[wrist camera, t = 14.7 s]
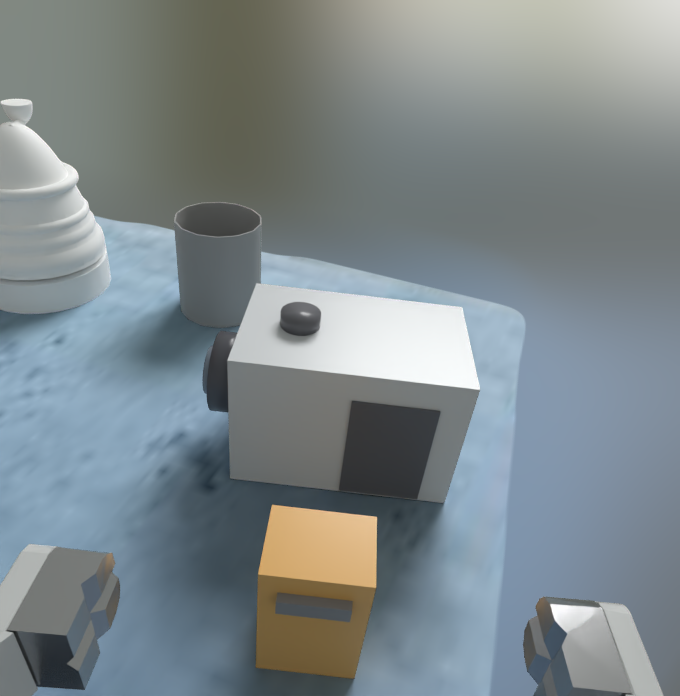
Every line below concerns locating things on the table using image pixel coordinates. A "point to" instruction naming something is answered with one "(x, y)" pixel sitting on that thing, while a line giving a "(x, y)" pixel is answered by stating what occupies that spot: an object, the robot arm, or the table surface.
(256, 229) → the cup
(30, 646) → the robot arm
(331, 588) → the tan box with label
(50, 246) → the honey pot
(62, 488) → the table surface
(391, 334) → the camera housing
